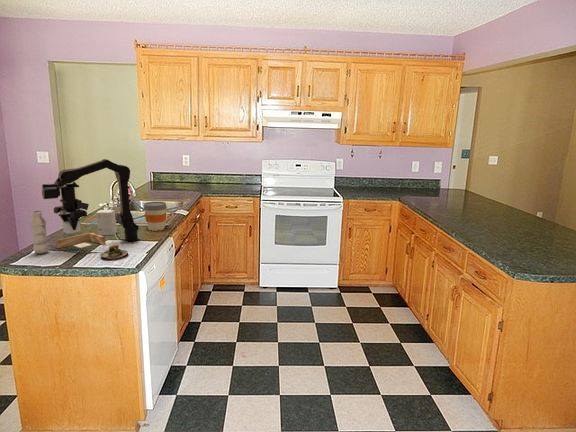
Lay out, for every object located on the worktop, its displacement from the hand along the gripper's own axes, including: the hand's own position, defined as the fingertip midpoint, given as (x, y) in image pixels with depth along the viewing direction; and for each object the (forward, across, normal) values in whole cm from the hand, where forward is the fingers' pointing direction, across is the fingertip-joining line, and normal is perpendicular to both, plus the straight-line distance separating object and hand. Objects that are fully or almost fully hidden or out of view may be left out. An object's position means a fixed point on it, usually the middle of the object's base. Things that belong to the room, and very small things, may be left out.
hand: (72, 229), depth 190 cm
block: (+1, 0, 0) cm, 1 cm away
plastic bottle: (+11, +8, +11) cm, 17 cm away
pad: (+11, +4, -7) cm, 13 cm away
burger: (+11, -23, -6) cm, 26 cm away
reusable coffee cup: (+11, 0, -49) cm, 50 cm away
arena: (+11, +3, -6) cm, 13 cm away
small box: (+11, +13, -26) cm, 31 cm away
